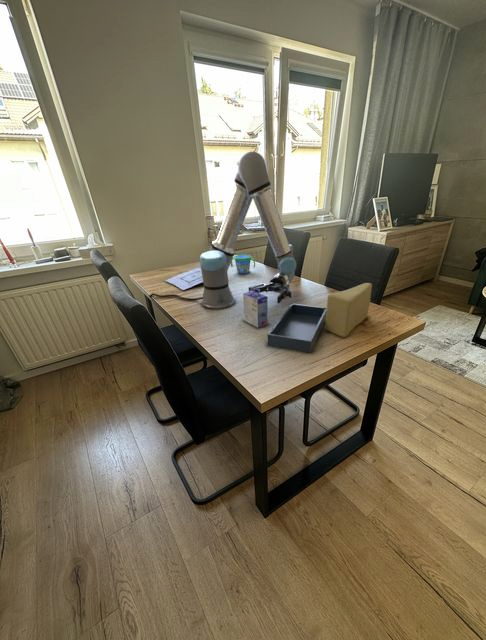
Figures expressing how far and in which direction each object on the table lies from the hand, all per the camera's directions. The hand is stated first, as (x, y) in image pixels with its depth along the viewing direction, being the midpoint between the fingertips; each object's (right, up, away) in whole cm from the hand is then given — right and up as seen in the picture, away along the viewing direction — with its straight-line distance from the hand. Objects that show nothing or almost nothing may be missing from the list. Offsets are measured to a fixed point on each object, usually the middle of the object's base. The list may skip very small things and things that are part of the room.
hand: (263, 298), depth 118 cm
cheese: (+35, -12, -7) cm, 38 cm away
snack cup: (-12, +28, +60) cm, 67 cm away
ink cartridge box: (-3, -11, -2) cm, 11 cm away
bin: (+14, -14, -9) cm, 22 cm away
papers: (-40, +20, +50) cm, 67 cm away
